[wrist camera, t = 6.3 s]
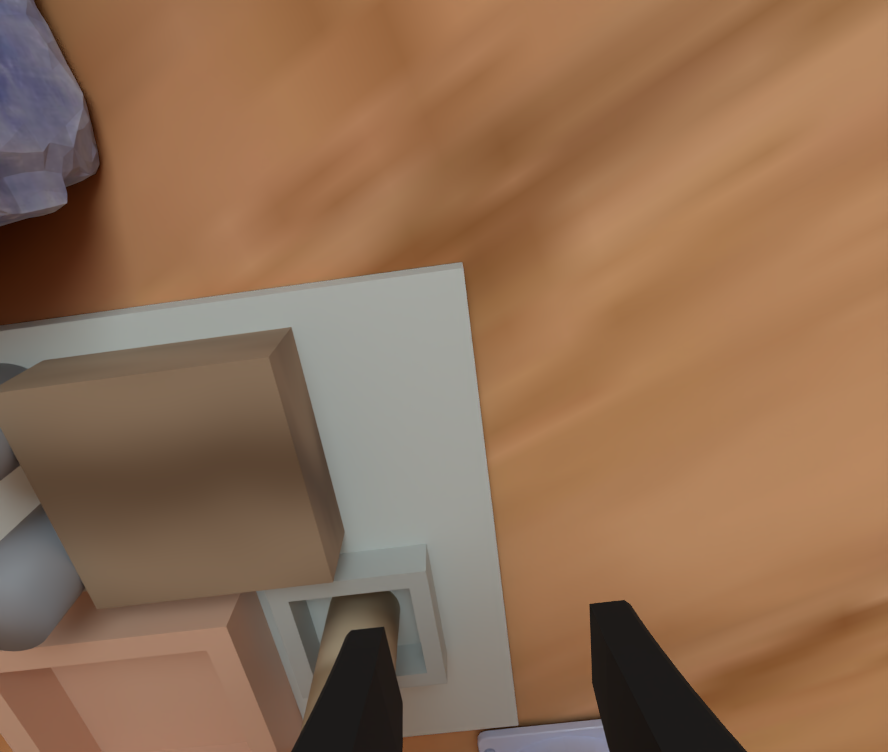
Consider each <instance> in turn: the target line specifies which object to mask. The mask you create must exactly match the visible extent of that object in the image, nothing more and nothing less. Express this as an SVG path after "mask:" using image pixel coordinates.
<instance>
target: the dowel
mask: <svg viewBox="0 0 888 752" xmlns="http://www.w3.org/2000/svg"><path fill="white" fill-rule="evenodd" d="M399 619H400V605H399V602H398V600H397V598H396V597H395V595H394V594H393V593H392V592H391V591H381V592H372V593H363V594H354V595H345V596H336V597H332V599H331V601H330V605H329V609H328V614H327V618H326V623H325V627H324V631H323V636H322V640H321V644H320V649H319V653H318V658H317V662H316V666H315V671H314V675H313V679H312V684H311V688H310V693H309V697H308V701H307V706H306V710H305V714H304V719H303V723H302V728H301V731H302V729H303V727H304V725H305V724H306V722H307V720H308V718H309V716H310V714H311V712H312V710H313V708H314V706H315V704H316V702H317V699H318V697H319V695H320V693H321V691H322V689H323V687H324V685H325V683H326V680H327V678H328V676H329V674H330V672H331V670H332V667H333V665H334V663H335V661H336V658H337V656H338V654H339V651H340V649H341V647H342V644H343V642H344V639H345V637H346V635H347V634H348V633H349V632H350V631H351V630H357V629H366V628H375V627H384V628H385V632H386V636H387V640H388V644H389V648H390V652H391V656H392V661H393V665H394V669H395V671H396V658H397V645H398V632H399ZM300 733H301V732H300Z"/></svg>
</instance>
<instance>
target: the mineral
mask: <svg viewBox="0 0 888 752" xmlns="http://www.w3.org/2000/svg"><path fill="white" fill-rule="evenodd" d="M99 164H100V163H99V156H98V150H97V145H96V141H95V137H94V133H93V128H92V124H91V120H90V116H89V112H88V108H87V105H86V101H85V98H84V95H83V93H82V91H81V89H80V87H79V85H78V83H77V81H76V79H75V77H74V76H73V74H72V72H71V70H70V68H69V67H68V65H67V63H66V61H65V59H64V57H63V55H62V53H61V51H60V49H59V47H58V44H57V42H56V40H55V38H54V36H53V34H52V32H51V30H50V28H49V26H48V24H47V23H46V21H45V20H44V18H43V16H42V15H41V13H40V12H39V10H38V9H37V7H36V5H35V2H34V0H0V226H3V225H6V224H10V223H13V222H16V221H20V220H23V219H26V218H32V217H38V216H43V215H46V214H50V213H53V212H56V211H57V210H58V209H60V208H61V207H62V206H64V205H65V204H67V191H66V187H68V186H70V185H73V184H76V183H79V182H81V181H83V180H85V179H86V178H88V177H89V176H92V175H94V174H96V171H97V169H98V167H99Z"/></svg>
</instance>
